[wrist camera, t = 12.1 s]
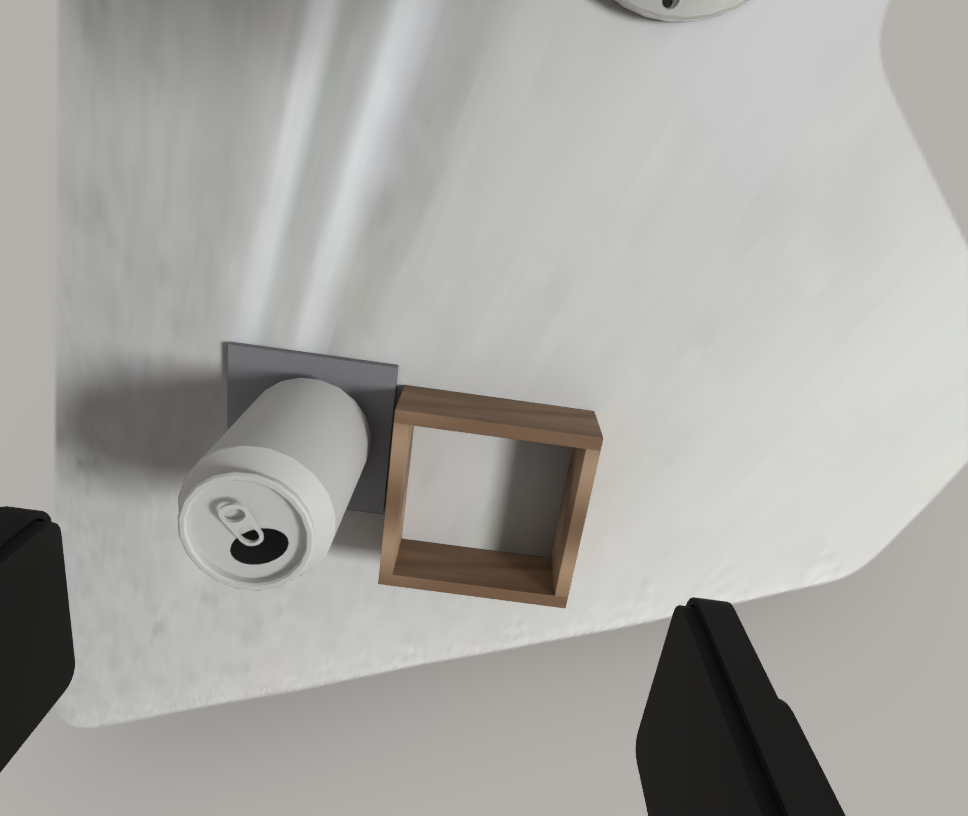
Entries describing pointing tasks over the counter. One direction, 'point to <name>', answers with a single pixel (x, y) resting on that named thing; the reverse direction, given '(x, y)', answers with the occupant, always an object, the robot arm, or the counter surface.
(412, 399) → the walnut box
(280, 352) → the rubber mat
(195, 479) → the can
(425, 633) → the counter surface
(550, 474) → the counter surface
